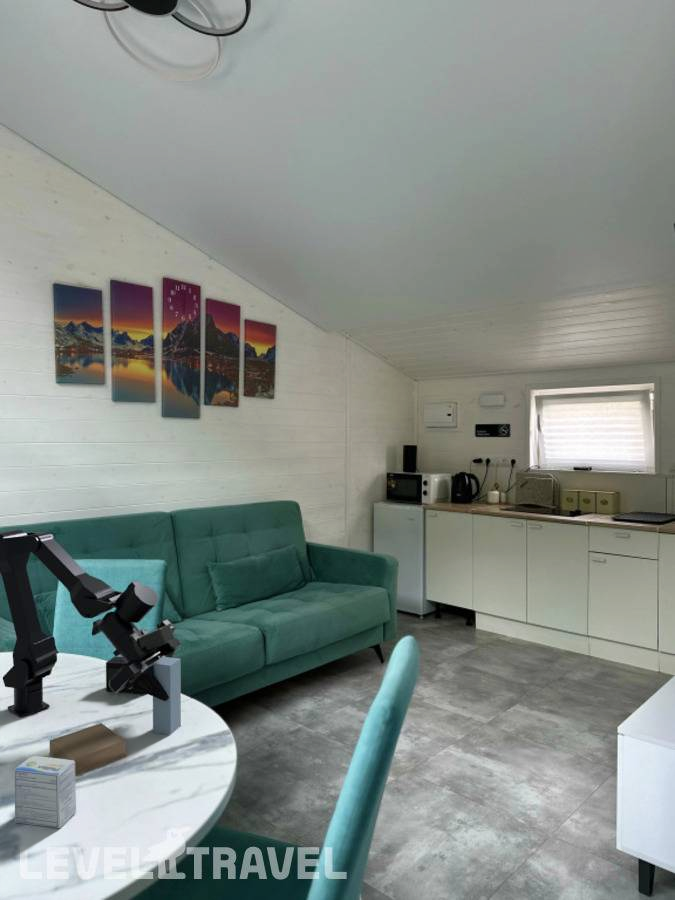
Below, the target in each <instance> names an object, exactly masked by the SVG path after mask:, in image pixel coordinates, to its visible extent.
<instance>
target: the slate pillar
mask: <svg viewBox="0 0 675 900" xmlns="http://www.w3.org/2000/svg"><path fill="white" fill-rule="evenodd" d="M181 660H182V659H181V658H177V657H173V658H170V657H162V658H161V659H159V660H157V661H156V662H154V663H153V665H154V675H155V677H156V678H157V680H158V681H159V683H160V684H161V685H162V687H163V688H164V690H165V691H166V693H167V695H168V696H169V699H168V700H167V701H163V700H160V699H158V698H156V697H153V696H152V733H155V732H156V733H157V734H162V733H164V734H163V735H168V734H171V733H172V734H173V733H175V732H176V731H177V730H178V729H179V728H180V727H181V725H182V715H181V714H182V713H181V712H182V711H181V710H182V709H181V708H182V704H181V703H182V702H181V700H182V698H181V697H182V694H181V692H182V686H181V685H182V684H181V683H182V681H181V680H182V676H181V675H182V672H181V669H182V668H181V667H182V666H181V665H182V664H181V663H182V661H181ZM178 727H179V728H178ZM177 728H178V729H177ZM176 729H177V730H176ZM175 730H176V731H175ZM174 731H175V732H174ZM156 733H155V734H156ZM172 734H171V735H172Z"/></svg>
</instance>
